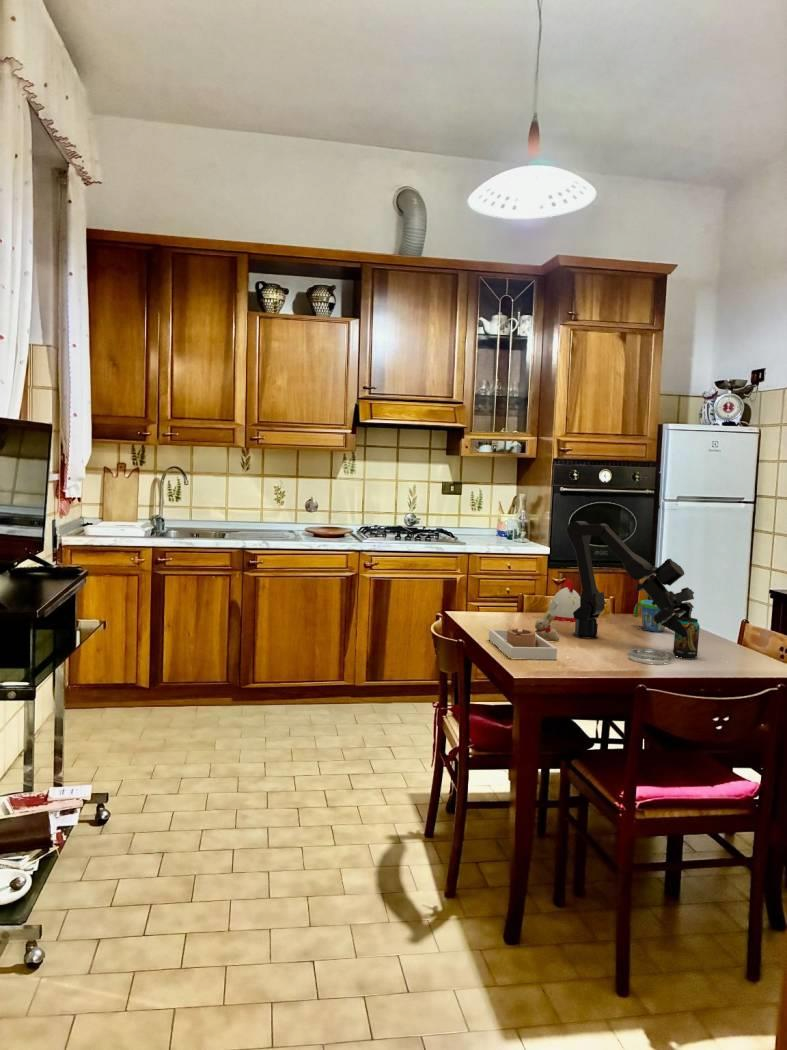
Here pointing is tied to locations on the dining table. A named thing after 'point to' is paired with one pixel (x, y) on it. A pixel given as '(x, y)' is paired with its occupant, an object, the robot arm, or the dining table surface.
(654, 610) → the snack cup
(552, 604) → the kitchen timer
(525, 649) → the gray rectangular tray
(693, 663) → the dining table surface
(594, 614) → the robot arm
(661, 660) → the shallow metal dish
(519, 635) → the bracket
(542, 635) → the chocolate bunny
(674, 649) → the beverage can
